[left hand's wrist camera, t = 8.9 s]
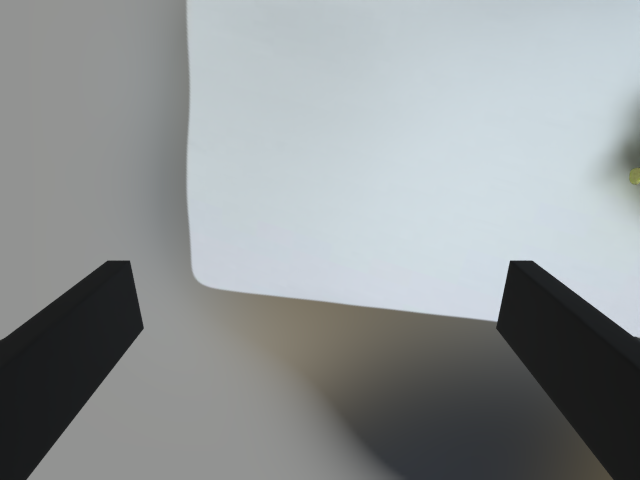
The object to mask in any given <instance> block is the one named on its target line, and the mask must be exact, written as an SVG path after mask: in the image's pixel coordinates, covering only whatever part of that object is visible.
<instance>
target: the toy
mask: <svg viewBox="0 0 640 480" xmlns="http://www.w3.org/2000/svg"><path fill="white" fill-rule="evenodd" d="M629 179H630V182H631V183H632V184H635V185H636V184H638V183H639V182H640V168H635V169H632V170H631V172H630V178H629Z"/></svg>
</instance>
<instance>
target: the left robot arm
mask: <svg viewBox="0 0 640 480" xmlns="http://www.w3.org/2000/svg"><path fill="white" fill-rule="evenodd" d="M143 329H144V327H143V322H142V317H141V313H140V308H139V303H138V298H137V293H136V288H135V283H134V278H133V273H132V269H131V264H130V261H107V262H105V263H104V264H103V265H101V266H100V267H99V268H97V269H96V270H95V271H93V272H92V273H91V274H89V275H88V276H87V277H85V278H84V279H83V280H81V281H80V282H79V283H77V284H76V285H75V286H73V287H72V288H71V289H69V290H68V291H67V292H65V293H64V294H63V295H61V296H60V297H59V298H58V299H56V300H55V301H53V302H52V303H51V304H49V305H48V306H47V307H46V308H44V309H43V310H41V311H40V312H39V313H38V314H36V315H35V316H33V317H32V318H31V319H29V320H28V321H27V322H25V323H24V324H23V325H22V326H20V327H19V328H17V329H16V330H15V331H14V332H12V333H11V334H10V335H8V336H7V337H6V338H4V339H2V340H0V480H26V479H27V478H28V477H29V476H30V474H31V473H32V472H33V470H34V469H35V468H36V467H37V465H38V464H39V463H40V461H41V460H42V459H43V458H44V456H45V455H46V454H47V452H48V451H49V450H50V448H51V447H52V446H53V445H54V443H55V442H56V441H57V439H58V438H59V437H60V436H61V434H62V433H63V432H64V431H65V429H66V428H67V427H68V425H69V424H70V423H71V421H72V420H73V419H74V418H75V416H76V415H77V414H78V412H79V411H80V410H81V409H82V407H83V406H84V405H85V403H86V402H87V401H88V400H89V398H90V397H91V396H92V394H93V393H94V392H95V391H96V389H97V388H98V387H99V385H100V384H101V383H102V381H103V380H104V379H105V378H106V376H107V375H108V374H109V372H110V371H111V370H112V369H113V367H114V366H115V365H116V363H117V362H118V361H119V360H120V358H121V357H122V356H123V354H124V353H125V352H126V351H127V349H128V348H129V347H130V345H131V344H132V343H133V341H134V340H135V339H136V338H137V336H138V335H139V334H140V332H141V331H142V330H143ZM496 329H497V330H498V331H499V332H500V334H501V335H502V336H503V338H504V339H505V340H506V341H507V343H508V344H509V345H510V347H511V348H512V349H513V351H514V352H515V353H516V354H517V356H518V357H519V358H520V360H521V361H522V362H523V363H524V365H525V366H526V367H527V369H528V370H529V371H530V372H531V374H532V375H533V376H534V378H535V379H536V380H537V382H538V383H539V384H540V385H541V387H542V388H543V389H544V391H545V392H546V393H547V394H548V396H549V397H550V398H551V400H552V401H553V402H554V403H555V405H556V406H557V407H558V409H559V410H560V411H561V412H562V414H563V415H564V416H565V418H566V419H567V420H568V421H569V423H570V424H571V425H572V427H573V428H574V429H575V431H576V432H577V433H578V434H579V436H580V437H581V438H582V439H583V441H584V442H585V443H586V445H587V446H588V447H589V448H590V450H591V451H592V452H593V454H594V455H595V456H596V458H597V459H598V460H599V461H600V463H601V464H602V465H603V467H604V468H605V469H606V470H607V472H608V473H609V474H610V476H611V477H612V478H613V479H614V480H640V339H639V338H637V337H633V336H632V335H630V334H629V333H628V332H626V331H625V330H624V329H622V328H621V327H620V326H619V325H617V324H616V323H615V322H613V321H612V320H611V319H609V318H608V317H607V316H605V315H604V314H603V313H601V312H600V311H599V310H597V309H596V308H595V307H593V306H592V305H591V304H589V303H588V302H587V301H585V300H584V299H583V298H581V297H580V296H579V295H577V294H576V293H575V292H573V291H572V290H571V289H569V288H568V287H567V286H565V285H564V284H563V283H561V282H560V281H559V280H557V279H556V278H555V277H553V276H552V275H551V274H549V273H548V272H547V271H545V270H544V269H543V268H541V267H540V266H539V265H537V264H536V263H535V262H533V261H510V264H509V269H508V273H507V278H506V283H505V288H504V293H503V298H502V303H501V308H500V312H499V317H498V322H497V327H496Z"/></svg>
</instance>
